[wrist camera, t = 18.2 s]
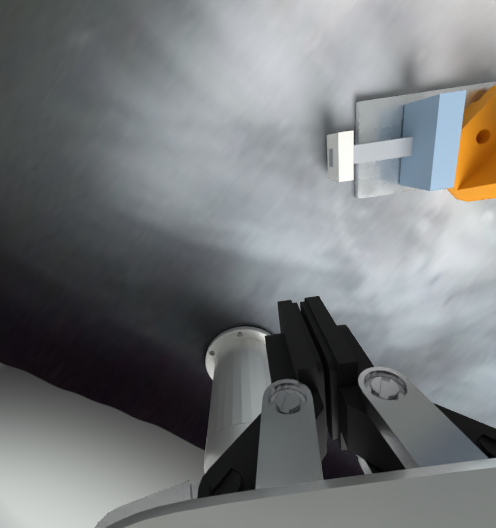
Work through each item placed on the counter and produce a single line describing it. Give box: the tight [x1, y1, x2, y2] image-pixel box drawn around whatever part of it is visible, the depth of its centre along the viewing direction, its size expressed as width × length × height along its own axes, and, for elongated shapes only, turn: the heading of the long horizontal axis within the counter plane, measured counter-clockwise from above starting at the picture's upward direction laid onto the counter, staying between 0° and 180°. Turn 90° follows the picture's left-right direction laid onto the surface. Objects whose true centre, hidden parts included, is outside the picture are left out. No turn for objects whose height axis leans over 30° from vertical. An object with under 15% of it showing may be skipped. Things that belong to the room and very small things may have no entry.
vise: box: [355, 81, 496, 199], centre depth 31 cm, size 11×24×7 cm, turn 98°
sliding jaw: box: [327, 90, 467, 191], centre depth 31 cm, size 9×12×6 cm
